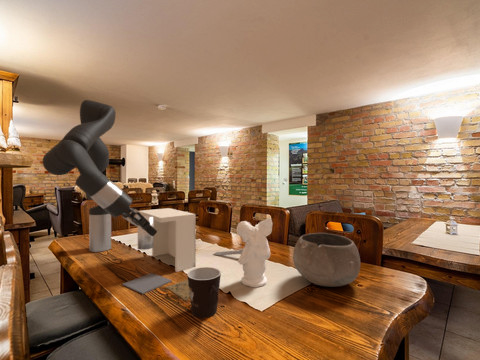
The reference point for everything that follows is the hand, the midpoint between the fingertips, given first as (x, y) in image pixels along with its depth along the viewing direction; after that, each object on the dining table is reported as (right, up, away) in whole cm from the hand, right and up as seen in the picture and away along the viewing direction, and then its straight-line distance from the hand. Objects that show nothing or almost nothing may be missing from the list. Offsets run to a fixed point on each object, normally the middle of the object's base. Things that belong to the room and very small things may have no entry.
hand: (151, 232), depth 82 cm
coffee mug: (+20, -17, -19) cm, 33 cm away
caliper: (+27, -17, +25) cm, 41 cm away
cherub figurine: (+35, -17, +2) cm, 39 cm away
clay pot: (+58, -17, 0) cm, 60 cm away
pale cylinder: (-1, -5, -1) cm, 5 cm away
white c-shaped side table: (-1, -16, +18) cm, 25 cm away
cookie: (+14, -17, -4) cm, 23 cm away
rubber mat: (-1, -17, -1) cm, 17 cm away
